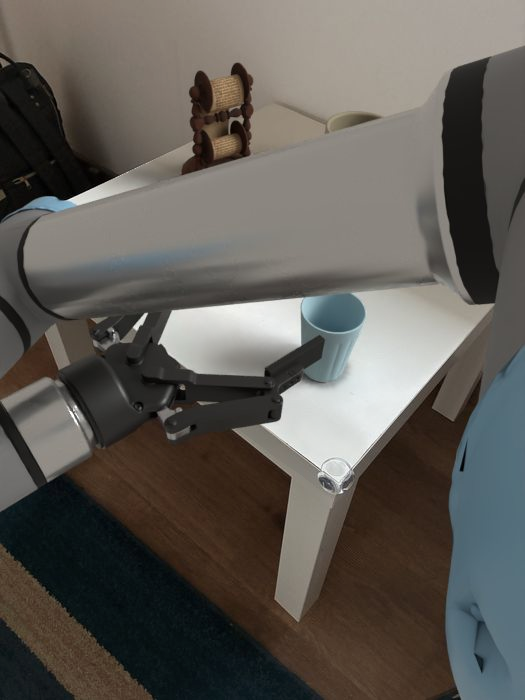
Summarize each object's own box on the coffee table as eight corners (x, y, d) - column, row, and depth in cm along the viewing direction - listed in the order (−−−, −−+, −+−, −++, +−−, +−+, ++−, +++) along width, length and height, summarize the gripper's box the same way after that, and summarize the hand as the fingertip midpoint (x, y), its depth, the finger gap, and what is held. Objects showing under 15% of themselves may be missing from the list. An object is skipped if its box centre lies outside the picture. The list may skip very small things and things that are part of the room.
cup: (313, 334, 74) (323, 277, 66) (362, 361, 71) (378, 305, 63) (281, 369, 70) (288, 312, 62) (332, 399, 67) (345, 343, 59)
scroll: (236, 155, 104) (237, 43, 89) (279, 192, 96) (288, 76, 81) (167, 175, 98) (156, 59, 83) (207, 216, 91) (203, 96, 75)
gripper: (24, 351, 53) (202, 267, 62) (161, 550, 41) (356, 409, 50) (-1, 295, 47) (199, 212, 57) (151, 508, 35) (373, 358, 44)
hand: (273, 305), depth 53 cm, fingers open, 13 cm apart
